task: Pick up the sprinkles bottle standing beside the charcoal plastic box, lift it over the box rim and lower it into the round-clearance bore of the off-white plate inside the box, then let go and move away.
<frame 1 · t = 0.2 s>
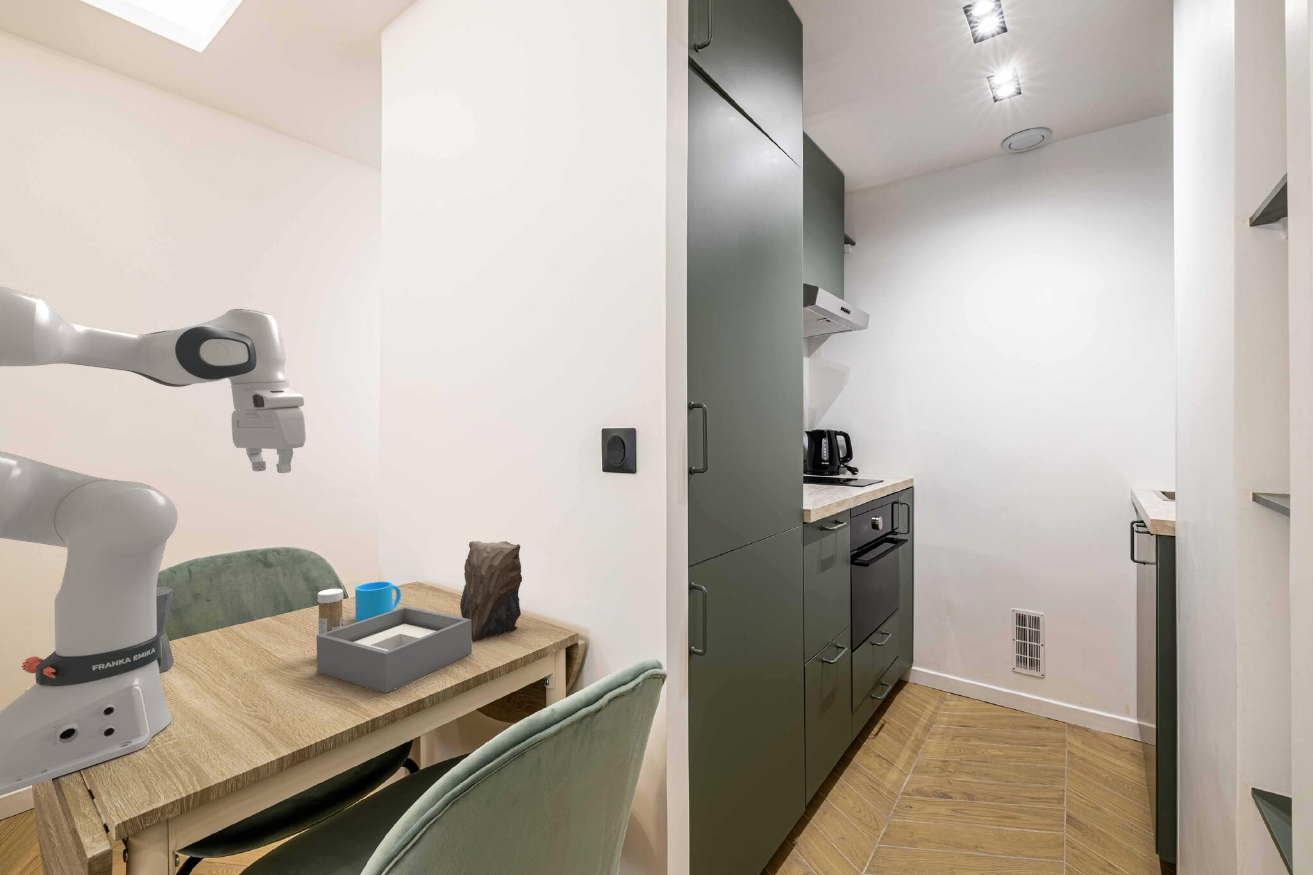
hand: (271, 471, 106), 39 cm above the table, tool pointing down, fingers open, 8 cm apart
mug: (380, 617, 140), on the table
owl: (485, 631, 129), on the table
sprinkles bottle: (331, 656, 115), on the table
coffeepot: (138, 675, 107), on the table
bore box: (397, 662, 112), on the table
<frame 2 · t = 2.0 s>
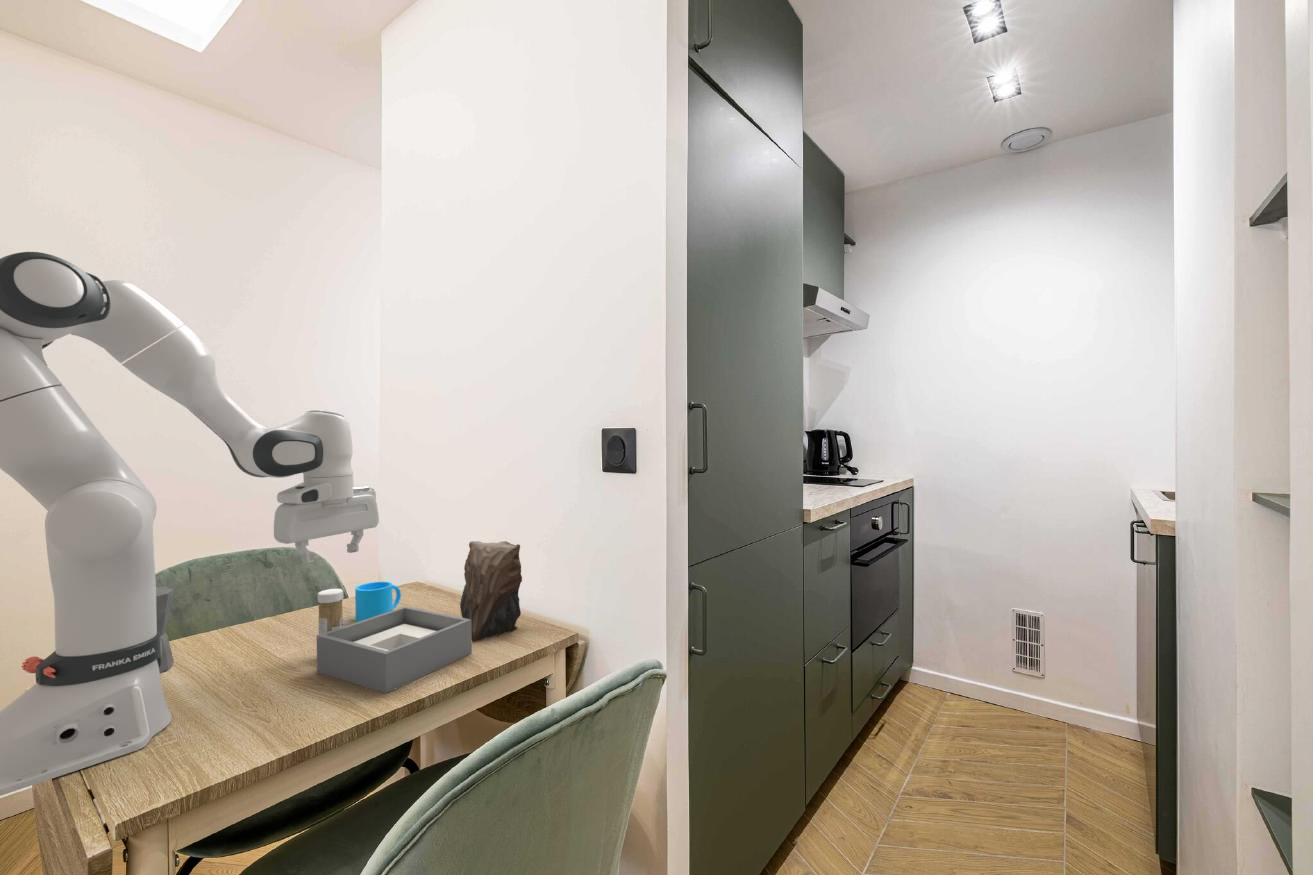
hand: (331, 556, 115), 20 cm above the table, tool pointing down, fingers open, 8 cm apart
nothing on the table moved.
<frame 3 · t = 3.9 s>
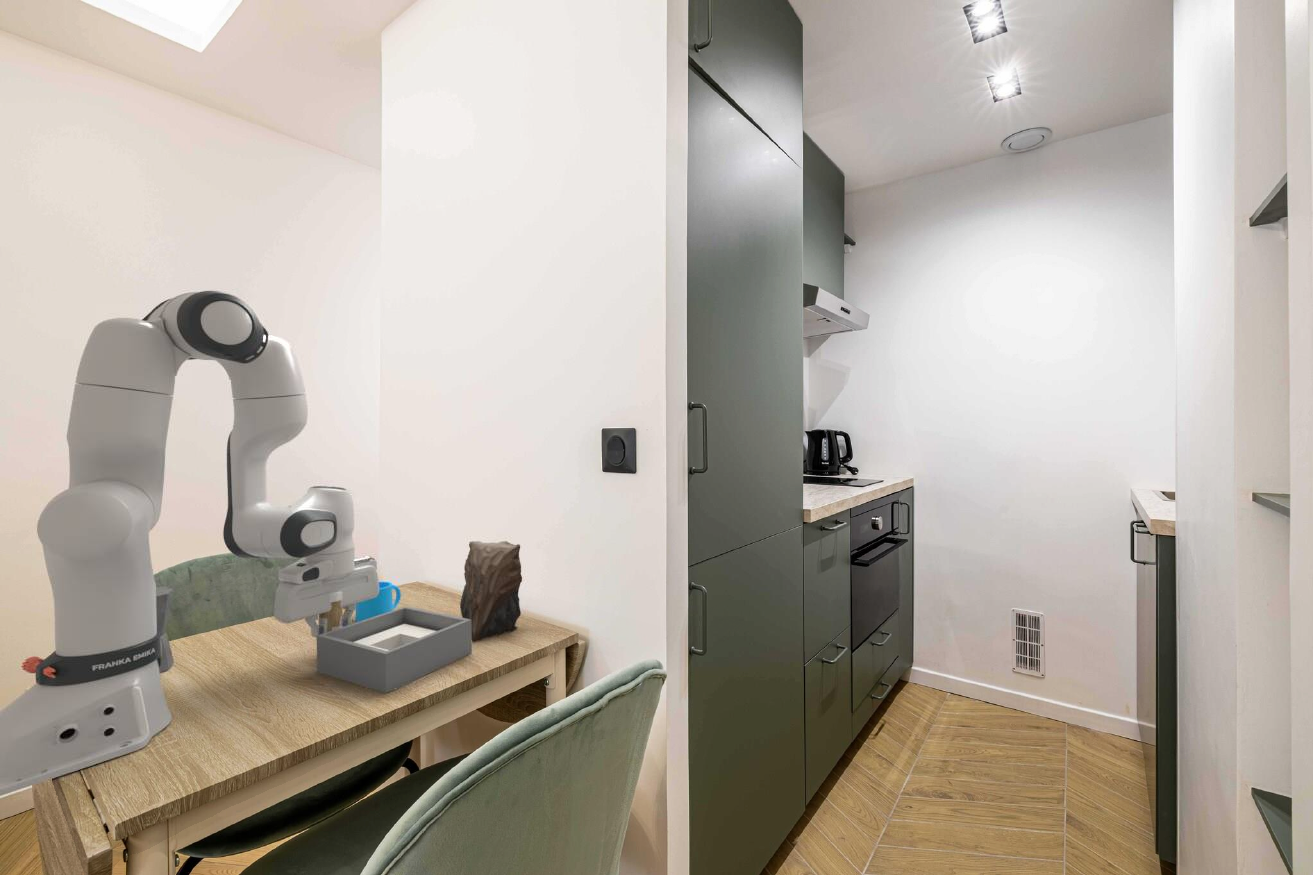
hand: (331, 631, 115), 5 cm above the table, tool pointing down, fingers closed on sprinkles bottle, 4 cm apart
sprinkles bottle: (331, 656, 115), on the table, touching gripper
everything else where it was.
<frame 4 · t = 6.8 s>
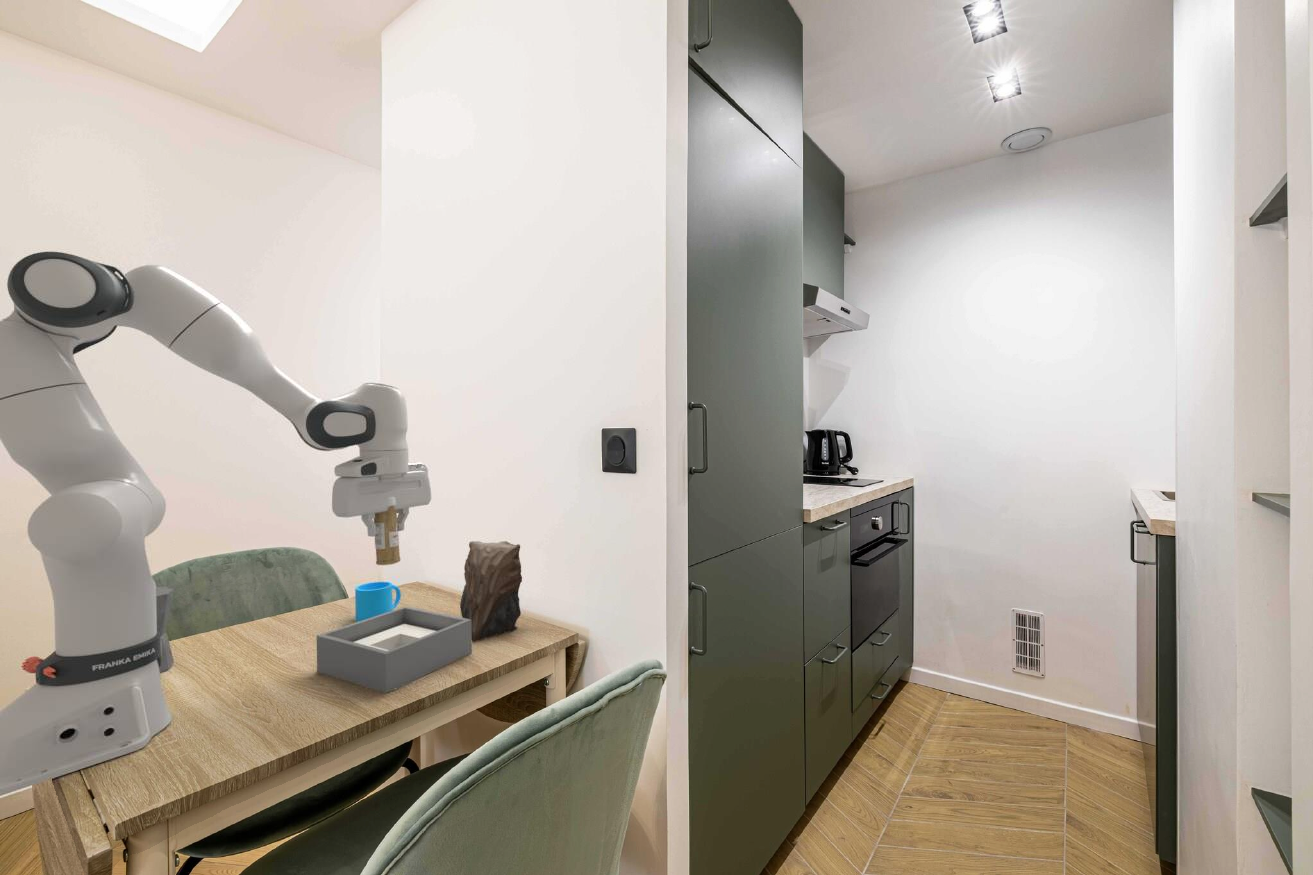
hand: (386, 533, 112), 26 cm above the table, tool pointing down, fingers closed on sprinkles bottle, 4 cm apart
sprinkles bottle: (388, 564, 112), point 19 cm above the table, touching gripper
everything else where it was.
when the fingers open (8 cm above the table, at t = 9.9 s): sprinkles bottle stays where it is, resting on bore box.
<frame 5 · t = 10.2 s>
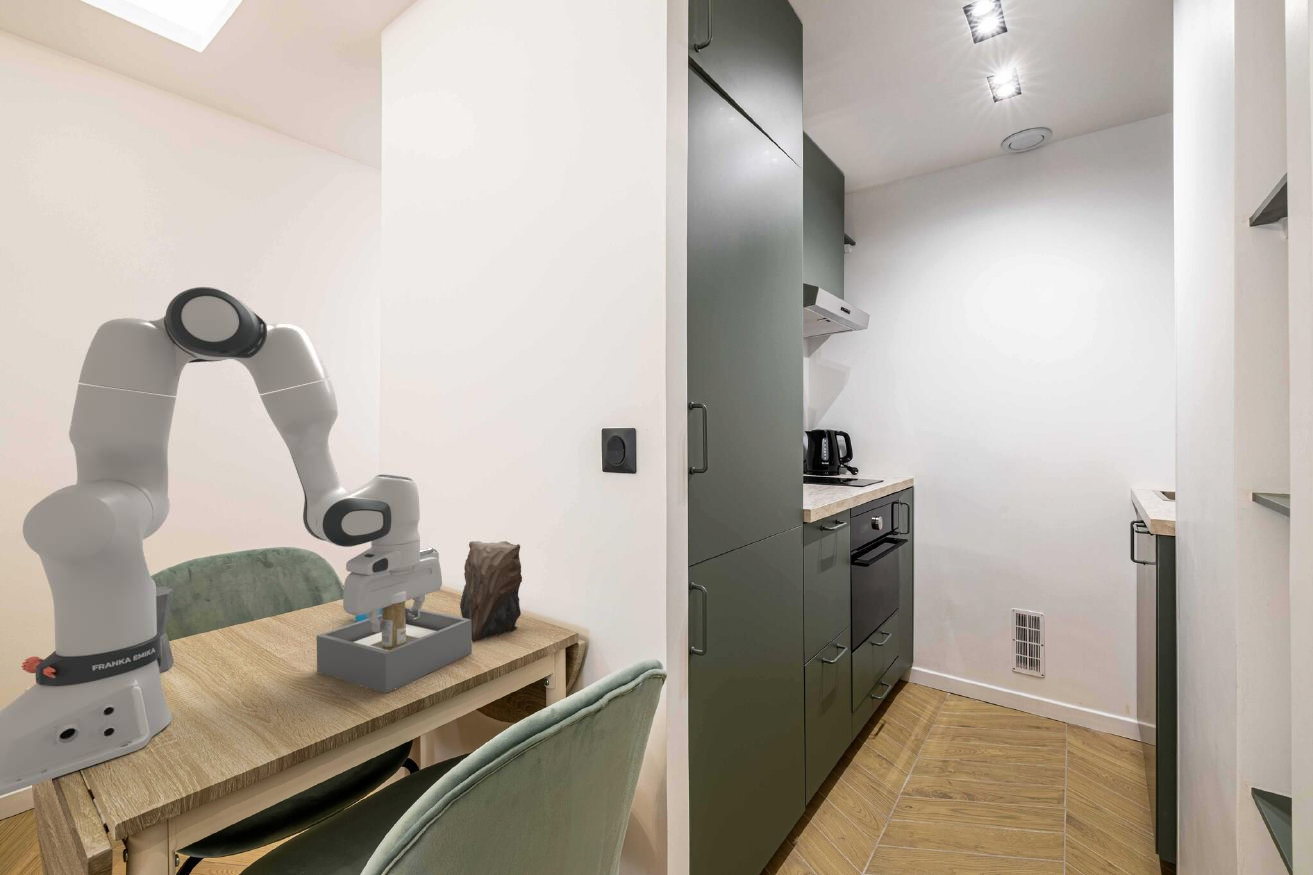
hand: (396, 624, 112), 8 cm above the table, tool pointing down, fingers open, 7 cm apart
sprinkles bottle: (394, 659, 111), point 1 cm above the table, touching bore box
everything else where it was.
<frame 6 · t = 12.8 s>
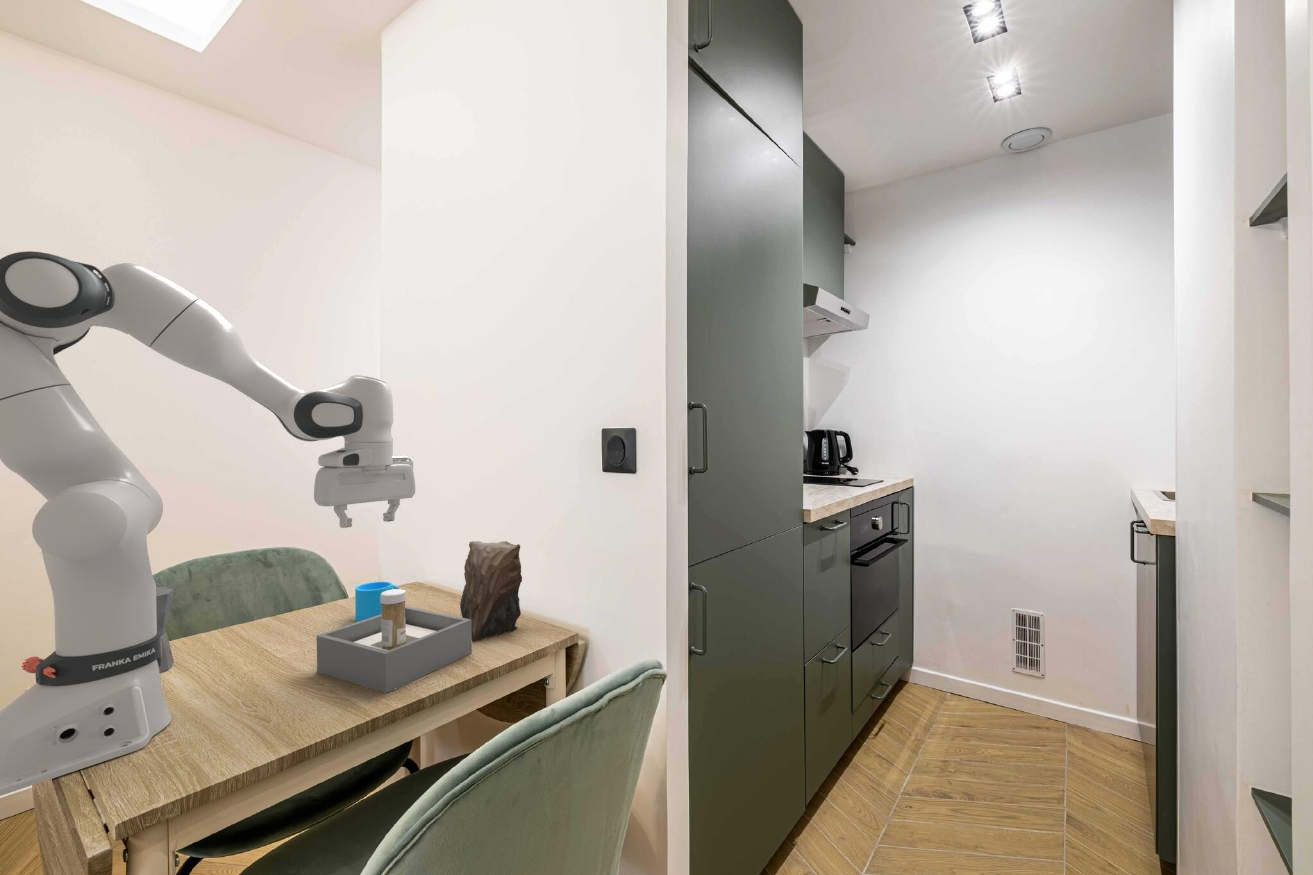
hand: (368, 524, 114), 27 cm above the table, tool pointing down, fingers open, 8 cm apart
nothing on the table moved.
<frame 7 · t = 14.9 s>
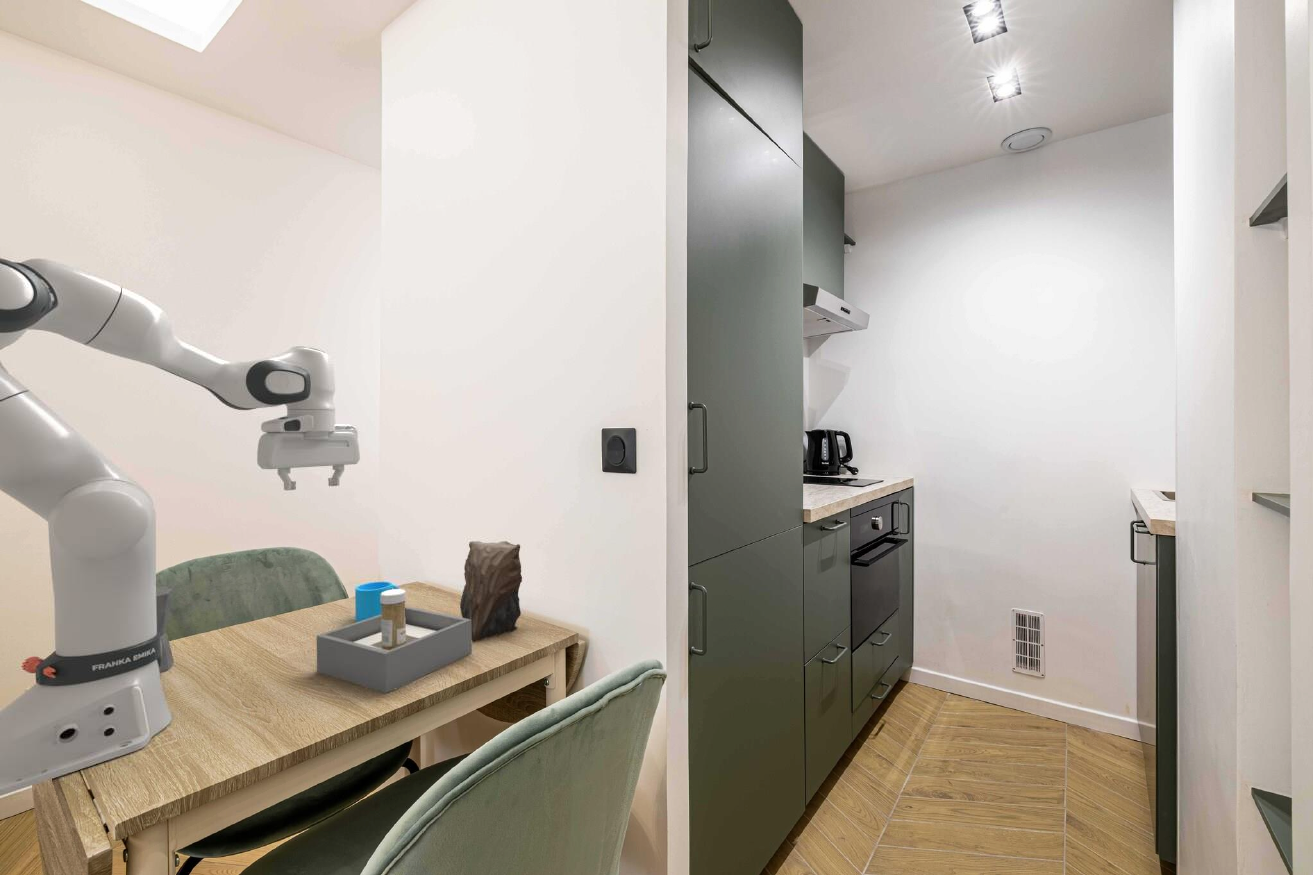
hand: (312, 487, 120), 34 cm above the table, tool pointing down, fingers open, 8 cm apart
nothing on the table moved.
at the end: sprinkles bottle 0.9 cm off-centre on the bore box, point 0.8 cm above the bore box's base; sprinkles bottle tilted 0°; the gripper is holding nothing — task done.
